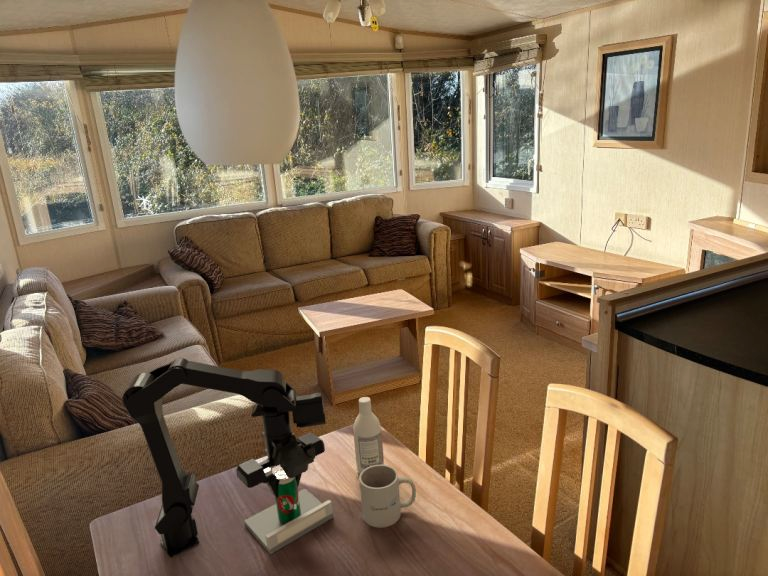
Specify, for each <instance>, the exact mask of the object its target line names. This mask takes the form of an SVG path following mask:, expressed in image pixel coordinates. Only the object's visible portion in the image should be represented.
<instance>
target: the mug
mask: <svg viewBox="0 0 768 576" xmlns="http://www.w3.org/2000/svg"><path fill="white" fill-rule="evenodd" d="M398 473H399V472H398V471H397V470H396V468H394V467H393V466H390V465H387V464H384V465H373V466H370V467H368V468H366V469H364V470H363V471H362V472H361V474H359V478H358V479H359V489H360V500H361V510H362V511H361V512H362V518H363V521H364V523H366V524H367V525H369V526H371V527H373V528H387V527H390V526H392V525H394V524H396V523H397V522H398V521H399V520H400V518H401V514H402V512H401V511H402V510H401V509H402V508H407V507H410V506H412V505H413V504H414V502H415V500H416V496H417V489H416V484H415V483H414V480H413V479H411V478H409V477H407V476H405V477H403V476H402V477H399V474H398ZM401 484H409V485H410V487H411V497H409V499H408V500H405V501H404V500H403V501H402V500H401V496H400V485H401Z"/></svg>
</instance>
